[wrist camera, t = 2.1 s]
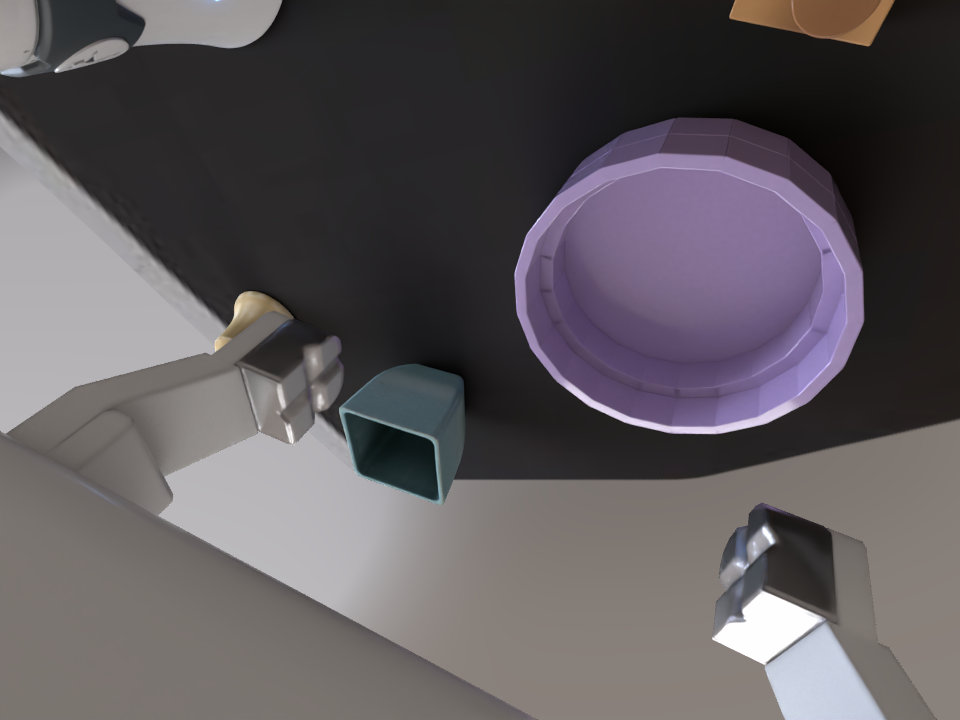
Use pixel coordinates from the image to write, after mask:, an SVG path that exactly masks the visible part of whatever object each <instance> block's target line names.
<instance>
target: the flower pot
mask: <svg viewBox="0 0 960 720" xmlns="http://www.w3.org/2000/svg"><path fill="white" fill-rule="evenodd" d="M339 411H340V416H341V420H342V424H343V427H344V431H345V434H346V438H347V442H348V446H349V450H350V454H351V459H352V463H353V467H354V470H355V472H356V474H357V475H358V476H361V477H363V478H366V479H368V480H370V481H374V482H376V483H379V484H383V485H386V486H389V487H391V488H394V489H396V490H399V491H402V492H405V493H408V494H411V495H413V496H416V497H419V498H421V499H425V500H427V501H429V502H432V503H435V504H439V505H443V504H444V502H445V499H446V497H447V494H448V492H449V489H450V487H451V484H452V482H453V479H454V476H455V474H456V471H457V469H458V466H459V463H460V460H461V457H462V453H463V448H464V441H465V405H464V381H463V379H462V377H460V376H458V375H455V374H451V373H448V372H444V371H440V370H437V369H433V368H430V367H426V366H423V365H419V364H407V365H401V366H397V367H394V368H391V369H388V370H386V371H384V372H382V373H380V374H379V375H377V376H376V377H374V378H373V379H372V380H371V381H369V382H368V383H367V384H366V385H365V386H364V387H362V388H361V389H360V390H359V391H358V392H357V393H356V394H354V395H353V396H352V397H351V398H350V399H349V400H348V401H347V402H346V403H344V404H343V405H342V406H341V407H340V409H339Z"/></svg>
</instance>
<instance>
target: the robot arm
mask: <svg viewBox="0 0 960 720" xmlns="http://www.w3.org/2000/svg"><path fill="white" fill-rule="evenodd" d="M281 3H282V0H0V74H3V75H7V76H12V77H24V76H30V75H35V74H40V73H45V72H50V71H55V72H56V73H58V72H62V71H66V70H70V69H74V68H79V67H83V66H86V65H90V64H94V63H97V62H101V61H104V60H108V59H111V58H114V57H117V56H119V55H121V54H123V53H124V52H126V51H127V50H128V49H130V48H131V47H132V46H140V45H153V44H177V43H188V44H204V45H211V46H216V47H222V48H236V47H242V46H245V45H248V44H250V43H252V42H254V41H255V40H257V39H258V38H260V37H261V36H262V35H263V34H264V33H265V32H266V31H267V30H268V28H269V27H270V26H271V24H272V23H273V21H274V19H275V17H276V15H277V13H278V11H279V9H280V6H281ZM341 352H342V349H341V342H340V339H339V338H338V337H336V336H334V335H332V334H329V333H327V332H325V331H322V330H320V329H318V328H315V327H313V326H311V325H308V324H306V323H304V322H301V321H299V320H296V319H293V318H291V317H289V316H286V315H284V314H281V313H279V312H277V311H271V312H267V313H265V314H264V315H262V316H261V317H260V318H259V319H257V320H256V321H255V322H253V323H252V324H251V325H250V326H248V327H247V328H246V329H244V330H243V331H242V332H241V333H239V334H238V335H237V336H235V337H234V338H233V339H232V340H230V341H229V342H228V343H226V344H225V345H224V346H223V347H221V348H220V349H219V350H217V351H216V352H215V353H214V354H213V355H209V354H207V353H203V354H199V355H195V356H191V357H187V358H184V359H180V360H176V361H172V362H168V363H165V364H161V365H157V366H153V367H150V368H146V369H142V370H138V371H134V372H130V373H127V374H123V375H119V376H115V377H111V378H108V379H104V380H100V381H96V382H92V383H89V384H85V385H81V386H77V387H74V388H73V389H71V390H70V391H68V392H67V393H65V394H64V395H63V396H61V397H60V398H58V399H56V400H55V401H54V402H52V403H51V404H49V405H48V406H46V407H45V408H43V409H42V410H40V411H39V412H37V413H36V414H34V415H33V416H31V417H30V418H28V419H27V420H25V421H24V422H22V423H21V424H20V425H18V426H17V427H15V428H14V429H12V430H11V431H9V432H8V433H6V434H4V433H2V432H1V431H0V720H537V719H536V718H534V717H532V716H530V715H528V714H526V713H524V712H522V711H521V710H519V709H517V708H515V707H513V706H511V705H509V704H508V703H506V702H504V701H502V700H500V699H498V698H496V697H495V696H493V695H491V694H489V693H487V692H485V691H483V690H481V689H480V688H478V687H476V686H474V685H472V684H470V683H468V682H467V681H465V680H463V679H461V678H459V677H457V676H455V675H454V674H452V673H450V672H448V671H446V670H444V669H442V668H440V667H439V666H437V665H435V664H433V663H431V662H429V661H428V660H426V659H424V658H422V657H420V656H418V655H416V654H414V653H413V652H411V651H409V650H407V649H405V648H403V647H401V646H400V645H398V644H396V643H394V642H392V641H390V640H388V639H387V638H385V637H383V636H381V635H379V634H377V633H375V632H373V631H371V630H370V629H368V628H366V627H364V626H362V625H360V624H359V623H357V622H355V621H353V620H351V619H349V618H347V617H345V616H344V615H342V614H340V613H338V612H336V611H334V610H332V609H331V608H329V607H327V606H325V605H323V604H321V603H319V602H317V601H316V600H314V599H312V598H310V597H308V596H306V595H305V594H303V593H301V592H299V591H297V590H295V589H293V588H291V587H290V586H288V585H286V584H284V583H282V582H280V581H278V580H277V579H275V578H273V577H271V576H269V575H267V574H265V573H263V572H262V571H260V570H258V569H256V568H254V567H252V566H250V565H249V564H247V563H245V562H243V561H241V560H239V559H237V558H235V557H233V556H232V555H230V554H228V553H226V552H224V551H222V550H220V549H219V548H217V547H215V546H213V545H211V544H209V543H207V542H206V541H204V540H202V539H200V538H198V537H196V536H194V535H193V534H191V533H189V532H187V531H185V530H183V529H181V528H180V527H178V526H176V525H174V524H172V523H170V522H168V521H166V520H165V519H163V518H161V517H159V516H158V515H159V514H160V513H161V512H162V511H163V510H164V509H165V508H166V507H167V506H168V505H169V504H170V503H171V502H172V500H173V493H172V491H171V489H170V487H169V486H168V484H167V482H166V480H165V478H164V476H166V475H168V474H170V473H172V472H175V471H177V470H179V469H181V468H184V467H186V466H188V465H190V464H192V463H195V462H197V461H199V460H201V459H203V458H206V457H208V456H210V455H212V454H214V453H216V452H219V451H221V450H223V449H225V448H227V447H230V446H232V445H234V444H236V443H238V442H240V441H243V440H245V439H247V438H249V437H251V436H253V435H256V434H257V433H258V431H259V432H262V433H264V434H266V435H269V436H271V437H273V438H276V439H278V440H280V441H283V442H285V443H287V444H290V445H292V446H294V445H295V444H296V443H297V441H299V439H300V438H301V437H302V436H303V435H304V434H305V433H306V432H307V431H308V430H309V429H310V428H311V427H312V425H313V424H314V419H315V413H317V412H320V411H323V410H325V409H328V408H329V407H330V406H331V404H332V403H333V402H334V401H335V400H336V399H337V397H338V395H339V393H340V391H341V389H342V387H343V381H344V367H343V366H342V364H341V363H340V361H339V360H338V358H337V356H338V355H339V354H340V353H341ZM719 579H720V581H721V583H722V585H723V587H724V589H725V591H726V592H725V593H724V594H723V595H722V596H721V597H720V598H719V599H718V600H717V602H716V608H715V618H714V628H713V640H716V641H717V642H720V643H721V644H724V645H726V646H728V647H730V648H732V649H734V650H736V651H738V652H740V653H742V654H744V655H746V656H748V657H750V658H752V659H754V660H756V661H758V662H760V663H762V664H764V665H766V666H765V667H764V668H765V671H766V673H767V676H768V678H769V681H770V683H771V686H772V688H773V691H774V693H775V696H776V698H777V701H778V703H779V706H780V708H781V711H782V713H783V716H784V718H785V720H937V719H936V718H935V716H934V715H933V713H932V712H931V710H930V709H929V707H928V706H927V704H926V703H925V701H924V700H923V698H922V697H921V695H920V693H919V692H918V691H917V689H916V688H915V686H914V685H913V683H912V681H911V680H910V678H909V677H908V676H907V674H906V673H905V671H904V670H903V668H902V666H901V665H900V663H899V662H898V660H897V659H896V657H895V656H894V654H893V653H892V651H891V650H890V648H889V647H887V646H884V645H882V644H880V643H878V639H877V631H876V624H875V623H876V622H875V614H874V606H873V598H872V590H871V583H870V574H869V566H868V557H867V549H866V547H865V545H864V544H863V542H862V541H859V540H857V539H854V538H852V537H849V536H847V535H844V534H841V533H839V532H836V531H834V530H831V529H829V528H825V527H824V526H821V525H819V524H816V523H814V522H811V521H808V520H806V519H803V518H801V517H798V516H795V515H793V514H790V513H788V512H785V511H782V510H780V509H777V508H774V507H772V506H769V505H767V504H764V503H761V504H758V505H756V506H755V508H754V509H753V510H752V511H751V512H750V513H749V520H748V526H744V527H739V528H737V529H736V530H735V532H734V533H733V535H732V536H731V537H730V539H729V541H728V543H727V545H726V548H725V550H724V552H723V557H722V561H721V565H720V572H719Z"/></svg>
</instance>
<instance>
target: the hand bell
mask: <svg viewBox="0 0 960 720" xmlns="http://www.w3.org/2000/svg"><path fill="white" fill-rule="evenodd" d="M271 311H277V312H279V313H281V314H284V315H286V316H289V317H291V318H293V319H294V317H293V316H292V315H291V314H290V312H289V311H288V310H287V309H286V308H285V307H284V306H283V305H281V304H280V303H279V302H277V301H276V300H275V299H273V298H271V297H270V296H267V295H266V294H263V293H261V292H256V291H247V292H244V293H242V294H240V295H239V297H238V298H237V300H236V303H235V307H234V314H235V315H234V318H233V320H232V322H231V324H230V325H229V326H228V328H227V329H226V330H225V331H224V332H223V333H222V334H221V335H220V336H219V337H218V338H217V339H216V341H215V349H216V351H217V350H219V349H220V348H221V347H223V346H224V345H225V344H226V343H228V342H229V341H230V340H232V339H233V338H234V337H235V336H237V335H238V334H239V333H241V332H242V331H243V330H244V329H246V328H247V327H248V326H250V325H251V324H252V323H253V322H255V321H256V320H257V319H259V318H260V317H261V316H262V315H264V314H265V313H267V312H271Z"/></svg>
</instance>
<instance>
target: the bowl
mask: <svg viewBox="0 0 960 720" xmlns="http://www.w3.org/2000/svg"><path fill="white" fill-rule="evenodd" d="M515 290H516V307H517V315H518V317H519V320H520V322H521V325H522V327H523V330H524V332H525V335H526V337H527V340H528V342H529V345H530V347H531V349H532V351H533V352H534V353H535V355H536V356H537V357H538V358H539V360H540V361H541V362H542V364H543V365H544V366H545V367H546V369H547V370H548V371H549V372H550V374H551V375H552V376H553V378H554V379H555V380H556V381H557V382H558V383H560V384H561V385H562V386H563V387H565V388H566V389H567V390H569V391H570V392H571V393H573V394H574V395H575V396H576V397H578V398H579V399H580V400H582V401H583V402H584V403H586V404H587V405H589V406H590V407H592V408H594V409H597V410H599V411H601V412H603V413H605V414H607V415H610V416H612V417H614V418H616V419H618V420H620V421H623V422H625V423H628V424H632V425H636V426H640V427H645V428H649V429H654V430H658V431H663V432H667V433H673V434H721V433H726V432H731V431H735V430H740V429H744V428H749V427H754V426H758V425H763V424H767V423H769V422H771V421H773V420H775V419H777V418H779V417H781V416H783V415H785V414H787V413H789V412H790V411H792V410H794V409H796V408H798V407H800V406H802V405H804V404H806V403H808V402H809V401H810V400H811V399H812V398H813V397H814V396H815V395H816V394H817V393H818V392H820V391H821V390H822V389H823V388H824V387H825V386H826V385H827V384H828V383H829V382H830V381H831V380H832V379H833V378H834V377H835V376H836V375H837V374H838V373H839V372H840V371H841V370H842V369H843V367H844V366H845V364H846V362H847V360H848V358H849V355H850V353H851V351H852V348H853V346H854V344H855V342H856V339H857V337H858V335H859V333H860V330H861V328H862V326H863V324H864V286H863V268H862V263H861V258H860V253H859V248H858V243H857V238H856V233H855V228H854V222H853V218H852V216H851V214H850V212H849V210H848V208H847V206H846V204H845V202H844V200H843V198H842V196H841V194H840V192H839V190H838V188H837V186H836V184H835V182H834V180H833V178H832V176H831V175H830V173H829V172H828V171H826V170H825V169H824V168H823V167H822V166H821V165H819V164H818V163H817V162H816V161H815V160H814V159H812V158H811V157H810V156H809V155H808V154H807V153H805V152H804V151H803V150H802V149H801V148H799V147H798V146H797V145H796V144H795V143H794V142H792V141H791V140H790V139H788V138H786V137H783V136H781V135H778V134H775V133H772V132H769V131H767V130H764V129H761V128H758V127H756V126H753V125H750V124H747V123H745V122H742V121H739V120H736V119H716V118H677V119H676V118H673V119H670V120H666V121H663V122H660V123H656V124H653V125H649V126H646V127H643V128H639V129H636V130H632V131H629V132H625V133H623V134H621V135H620V136H618V137H617V138H615V139H614V140H612V141H611V142H609V143H608V144H606V145H605V146H604V147H602V148H601V149H599V150H598V151H596V152H595V153H593V154H592V155H590V156H589V157H587V158H586V159H584V160H583V161H582V162H581V163H580V165H579V166H578V167H577V168H576V170H575V171H574V172H573V174H572V175H571V176H570V178H569V179H568V180H567V181H566V183H565V184H564V185H563V187H562V188H561V189H560V191H559V192H558V193H557V194H556V196H555V197H554V198H553V200H552V201H551V202H550V204H549V205H548V206H547V208H546V209H545V210H544V212H543V213H542V214H541V216H540V217H539V218H538V220H537V221H536V222H535V224H534V225H533V226H532V228H531V229H530V230H529V232H528V233H527V235H526V238H525V241H524V244H523V248H522V251H521V254H520V257H519V261H518V264H517V267H516V270H515Z"/></svg>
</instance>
